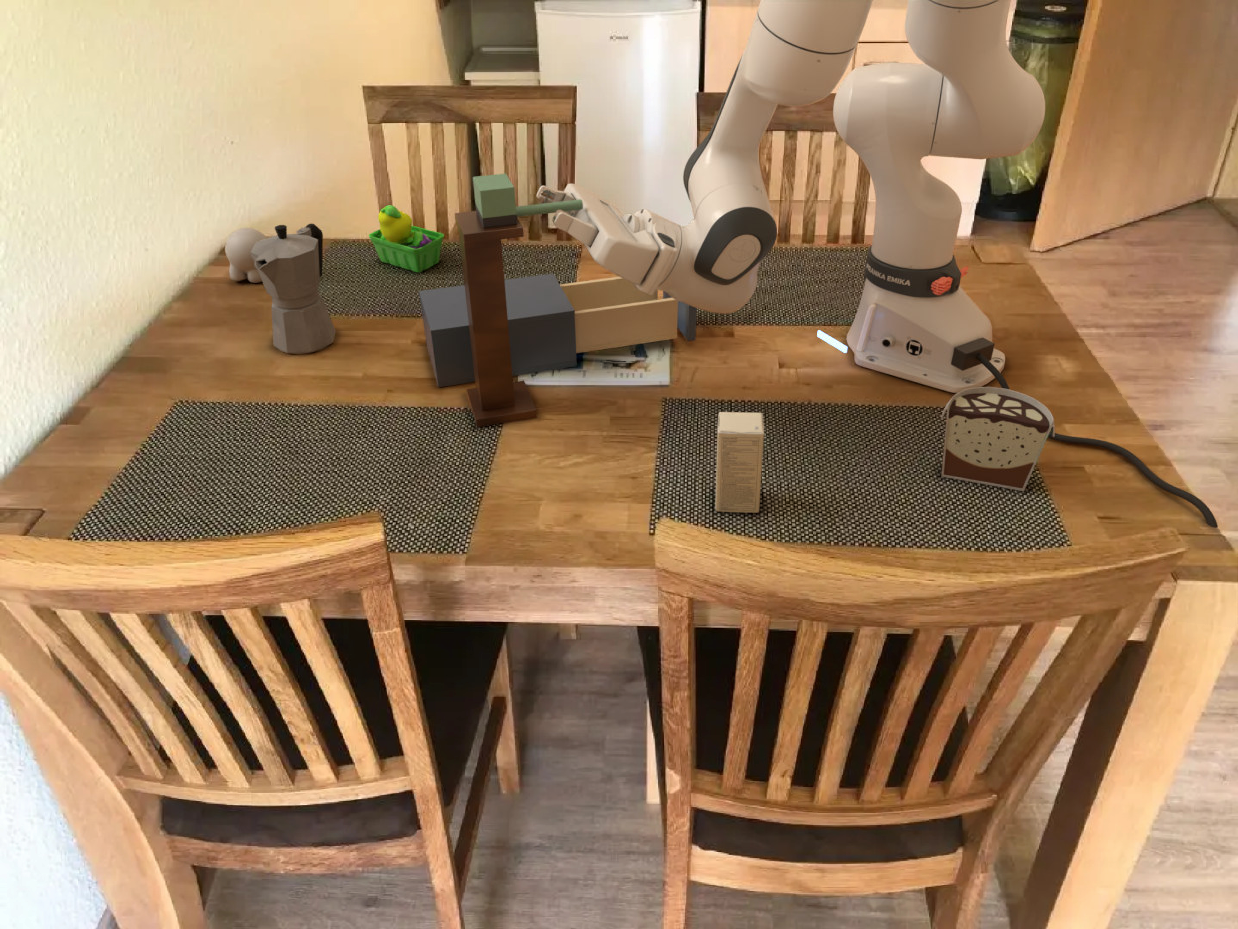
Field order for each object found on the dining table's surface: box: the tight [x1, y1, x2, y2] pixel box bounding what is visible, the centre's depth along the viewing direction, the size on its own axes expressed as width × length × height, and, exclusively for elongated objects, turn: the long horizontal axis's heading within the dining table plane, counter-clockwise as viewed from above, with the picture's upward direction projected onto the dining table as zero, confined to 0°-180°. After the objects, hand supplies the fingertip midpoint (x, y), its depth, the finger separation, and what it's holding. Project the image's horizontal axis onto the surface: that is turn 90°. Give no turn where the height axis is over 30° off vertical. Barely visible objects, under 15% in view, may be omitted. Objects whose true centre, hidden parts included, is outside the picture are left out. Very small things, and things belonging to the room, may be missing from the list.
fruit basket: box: [368, 204, 445, 274], centre depth 166 cm, size 11×9×11 cm
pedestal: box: [454, 210, 538, 428], centre depth 123 cm, size 8×8×26 cm
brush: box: [472, 173, 583, 228], centre depth 116 cm, size 12×5×4 cm, turn 106°
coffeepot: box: [251, 223, 337, 355], centre depth 142 cm, size 15×9×18 cm, turn 163°
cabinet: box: [418, 273, 578, 388], centre depth 140 cm, size 20×13×9 cm, turn 106°
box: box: [714, 411, 765, 514], centre depth 110 cm, size 5×4×11 cm
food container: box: [940, 386, 1056, 492], centre depth 115 cm, size 12×6×10 cm, turn 71°
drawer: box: [559, 276, 698, 354], centre depth 144 cm, size 23×12×7 cm, turn 106°
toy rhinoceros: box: [224, 227, 268, 284], centre depth 162 cm, size 7×12×8 cm, turn 82°
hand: (547, 204), depth 117 cm, fingers open, 7 cm apart
